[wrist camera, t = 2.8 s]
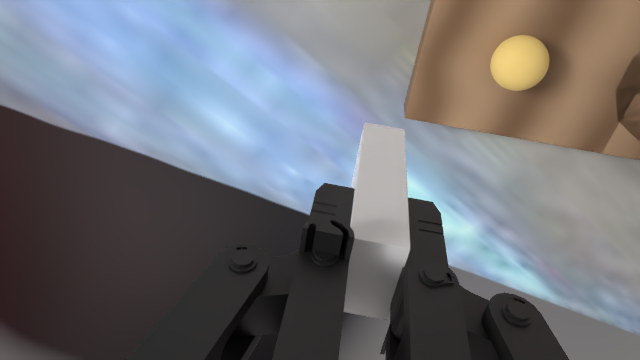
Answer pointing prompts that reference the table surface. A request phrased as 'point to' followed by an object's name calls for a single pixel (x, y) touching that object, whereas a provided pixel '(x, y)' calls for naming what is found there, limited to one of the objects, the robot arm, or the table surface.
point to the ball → (519, 62)
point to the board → (556, 86)
